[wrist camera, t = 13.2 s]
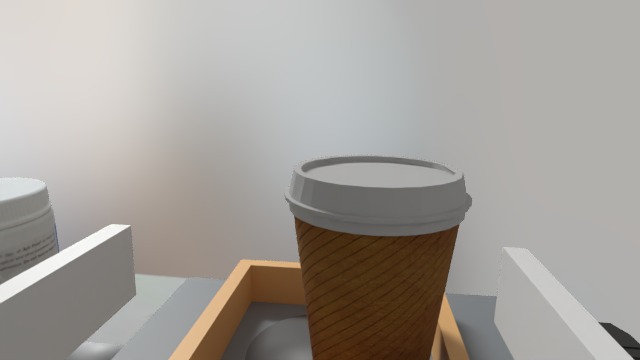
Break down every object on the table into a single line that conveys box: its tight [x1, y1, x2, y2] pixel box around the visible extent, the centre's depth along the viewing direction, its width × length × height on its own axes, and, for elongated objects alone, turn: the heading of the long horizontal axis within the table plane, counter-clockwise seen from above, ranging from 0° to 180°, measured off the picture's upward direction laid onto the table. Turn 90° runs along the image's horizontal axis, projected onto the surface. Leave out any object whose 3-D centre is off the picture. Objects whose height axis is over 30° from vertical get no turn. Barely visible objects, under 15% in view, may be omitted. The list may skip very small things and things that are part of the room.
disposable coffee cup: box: [284, 155, 472, 360], centre depth 24 cm, size 10×10×12 cm
